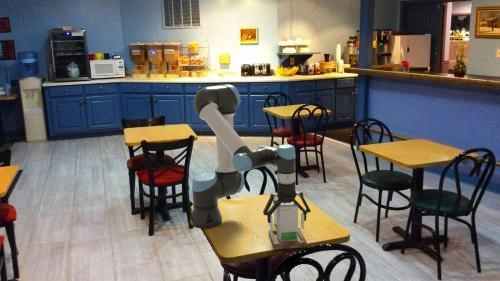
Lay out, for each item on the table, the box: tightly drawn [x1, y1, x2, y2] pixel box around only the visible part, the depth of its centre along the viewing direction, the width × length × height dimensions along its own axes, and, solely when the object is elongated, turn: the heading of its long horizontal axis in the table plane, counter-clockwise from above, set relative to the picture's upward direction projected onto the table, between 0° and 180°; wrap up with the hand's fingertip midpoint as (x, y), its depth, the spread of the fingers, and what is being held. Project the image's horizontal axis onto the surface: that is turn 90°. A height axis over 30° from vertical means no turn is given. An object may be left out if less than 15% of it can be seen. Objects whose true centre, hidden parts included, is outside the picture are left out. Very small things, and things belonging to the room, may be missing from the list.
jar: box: [272, 196, 278, 226], centre depth 220 cm, size 9×8×12 cm
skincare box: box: [276, 202, 299, 242], centre depth 200 cm, size 8×7×16 cm
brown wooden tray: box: [268, 227, 308, 250], centre depth 202 cm, size 14×15×2 cm
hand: (287, 228), depth 201 cm, fingers open, 13 cm apart
